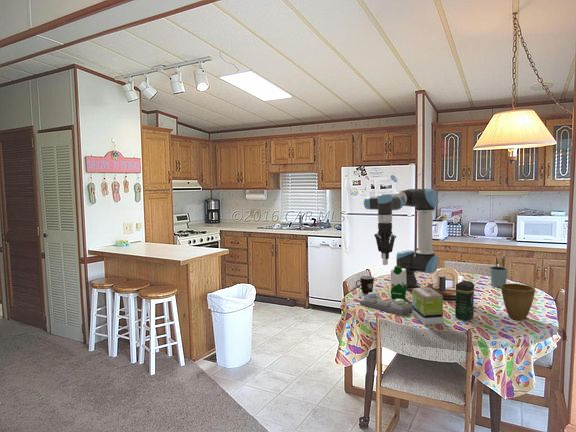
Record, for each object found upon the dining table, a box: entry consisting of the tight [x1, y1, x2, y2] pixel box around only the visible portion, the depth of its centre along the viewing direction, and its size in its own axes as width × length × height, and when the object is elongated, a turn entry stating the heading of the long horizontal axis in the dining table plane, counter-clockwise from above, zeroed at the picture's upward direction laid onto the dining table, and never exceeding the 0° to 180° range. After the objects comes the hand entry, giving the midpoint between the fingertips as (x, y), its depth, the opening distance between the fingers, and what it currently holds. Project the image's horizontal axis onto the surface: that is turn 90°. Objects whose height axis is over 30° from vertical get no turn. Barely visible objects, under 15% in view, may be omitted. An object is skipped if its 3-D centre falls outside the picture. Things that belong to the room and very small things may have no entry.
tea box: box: [411, 287, 444, 326], centre depth 199 cm, size 15×10×15 cm
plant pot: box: [500, 283, 536, 321], centre depth 199 cm, size 15×15×16 cm
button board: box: [359, 294, 412, 317], centre depth 220 cm, size 28×10×4 cm, turn 41°
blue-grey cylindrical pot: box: [489, 266, 508, 288], centre depth 257 cm, size 10×10×12 cm
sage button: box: [394, 299, 405, 305], centre depth 213 cm, size 5×5×2 cm
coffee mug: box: [355, 275, 375, 295], centre depth 250 cm, size 12×9×10 cm
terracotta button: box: [381, 297, 391, 302], centre depth 220 cm, size 5×5×2 cm
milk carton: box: [390, 265, 407, 301], centre depth 235 cm, size 9×9×20 cm
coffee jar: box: [454, 280, 475, 321], centre depth 201 cm, size 10×8×19 cm
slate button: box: [367, 291, 377, 298], centre depth 227 cm, size 5×5×2 cm
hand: (385, 264), depth 219 cm, fingers closed
